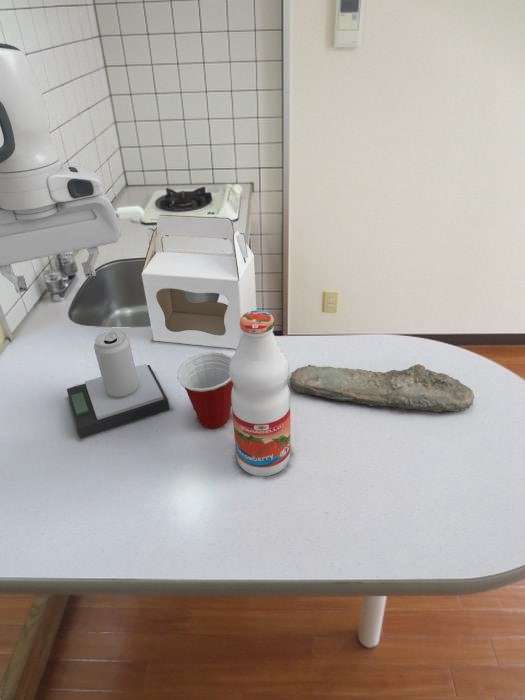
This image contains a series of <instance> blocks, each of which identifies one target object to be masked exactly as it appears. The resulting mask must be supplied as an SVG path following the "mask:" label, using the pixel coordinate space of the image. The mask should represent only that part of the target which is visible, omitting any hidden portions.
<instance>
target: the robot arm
mask: <svg viewBox="0 0 525 700" xmlns="http://www.w3.org/2000/svg"><path fill="white" fill-rule="evenodd" d="M50 123H51V122H50V117H49V114H48V110H47V107H46V102H45V99H44V95H43V91H42V89H41V86H40V83H39V80H38V78H37V74H36V73H35V70H34V68H33V65H32V63H31V62H30V59H29V58H28V56H27V55H26V54H25V52H24V51H22V50H21V49H20V48H18V47H16V46H14V45H11V44H8V43H1V42H0V274H1V275H2V276H3V277H4V278H6V279H7V280H8V282H10V283H12V284H13V286H14V289H15V293H16V294H19V293H25V292H27V291H29V289H28V285H27V282H26V279H25V276H24V275H16V274H15V273H14V272H13V271H12V266H11V265H14V264H18V263H24V262H27V261H28V262H29V261H33V260H38V259H42V258H47V257H53V256H58V255H63V254H67V253H73V252H77V251H81V250H85V249H86V251H87V254H88V256H87V260H86V261H84V262H81V266H82V269H83V270H82V271H83V275H84V277H85V278H90V277H95V276H97V273H96V269H95V265H96V262H97V260H98V257H99V254H100V251H99V247H102V246H106V245H112V244H115V243H118V242H119V240H120V238H121V236H122V231H121V230H122V229H121V227H120V222H119V220H118V216H117V214H116V212H115V209H114V206H113V203H111V201H110V199H109V198H108V196H107V195H106V194H105V193H104V192H103V186H102V181H101V179H100V177H99V175H98V174H97V173H96V172H95V171H94V170H92V169H91V168H89V167H86V166H85V167H84V166H77V165H70V164H63V163H61V162H60V157H59V154H58V152H57V150H56V149H55V148H56V147H54V145H53V142H52V139H51V134H50Z"/></svg>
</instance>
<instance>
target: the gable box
mask: <svg viewBox="0 0 525 700" xmlns="http://www.w3.org/2000/svg"><path fill="white" fill-rule="evenodd" d="M147 236H148V247H147V251H146V254H145V259H144V261H143V265H142V269H141V273H140V274H141V275H140V276H141V279H142V285H143V291H144V296H145V302H146V306H147V313H148V317H149V324H150V328H151V329H150V330H151V334H152V338H153V341H154V342H163V343H171V344H173V343H174V344H183V345H191V346H192V345H193V346H204V347H213V348H214V347H215V348H222V349H223V348H224V349H233V350H234V349H235V350H237V347H238V344H239V341H240V338H241V335H242V331H241V329H240V318H241V317H242V315H244V314H245V313H247V312H250V311H257V310H258V309H257V295H256V294H257V293H256V292H257V291H256V274H255V273H256V269H255V254H254V253H253V251H252V250H251V248H250V247H249V245H248V244H247V242H246V235H245V232H244V233H243V232H239V231H238V230H235V228H234V220H232V219H230V218H229V217H220V216H218V217H216V216H199V215H176V214H175V215H174V214H173V215H172V214H160V215H158V216H157V218H156V227H155V228H151V227H150V228H147ZM164 237H180V238H197V239H215V240H225V241H226V240H228V241H229V242H230V243H231V246H232V247H231V248H232V252H231V251H220V250H219V251H216V250H201V249H187V248H186V249H184V248H168V247H164V241H163V238H164ZM186 292H187V293H188V292H189V293H194V294H218V295H221V296H224V297H225V298H226V299H227V301H228V304H227V303H223V302H219V301H214V300H213V301H211V300H208V301H201V302H192V301H189V300H188V299H187V297H186Z"/></svg>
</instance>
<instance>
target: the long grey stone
mask: <svg viewBox="0 0 525 700" xmlns="http://www.w3.org/2000/svg"><path fill="white" fill-rule="evenodd" d="M288 379H289V386H290V388H292V390H293V391H294V392H297V393H302V394H309V395H311V396H316V397H323V398H326V399H333V400H335V401H336V400H337V401H340V402H342V401H345V402H347V401H348V402H351V403H356V404H364V405H368V406H370V407H375V406H384V407H392V408H394V407H396V408H399V410H420V411H428V412H435V413H442V412H443V411H446V412H457V411H462V410H466V409H469V408H470V407H471V406H472V405H473V403H474V399H475V396H474V391H473V390H472V389H471V387H469V386H468V385H466V384H464V383H461V381H460V380H459V379H456V378H454V377H453V376H450V375H448V374H446V373H442V372H436V371H432V370H430V369H426V367H425V365H423V364H420V363H417V364H414V365H411V366H410V367H409V368H407V369H402V370H399V369H391V370H389V371H385V372H382V371H373V370H366V369H359V368H356V369H354V368H346V367H345V368H344V367H333V366H317V365H312V364H308V365H307V366H305V365H304V366H302V367H297V368H296V369H295V370H293V371H292V372H291V374H290V378H288Z"/></svg>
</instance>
